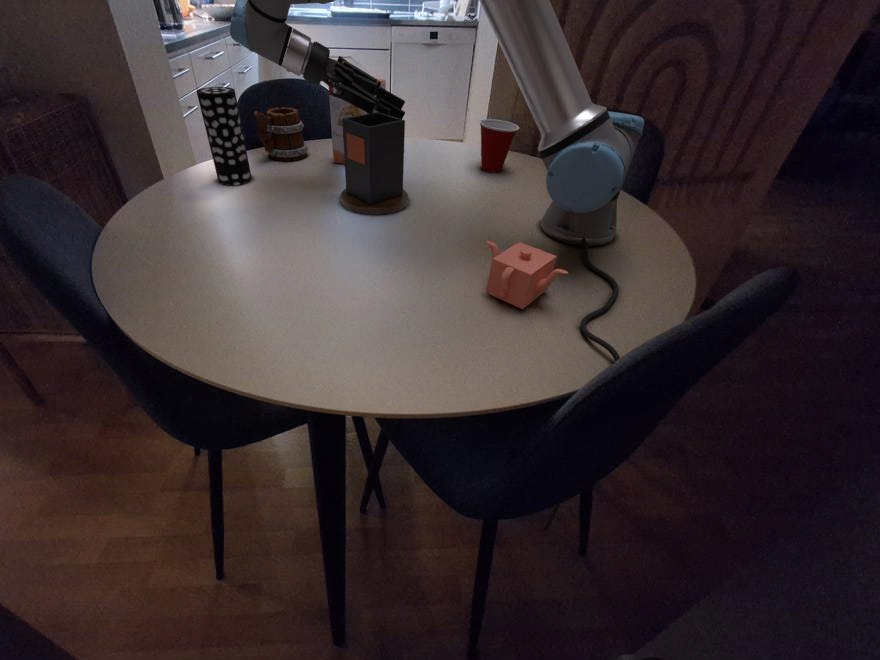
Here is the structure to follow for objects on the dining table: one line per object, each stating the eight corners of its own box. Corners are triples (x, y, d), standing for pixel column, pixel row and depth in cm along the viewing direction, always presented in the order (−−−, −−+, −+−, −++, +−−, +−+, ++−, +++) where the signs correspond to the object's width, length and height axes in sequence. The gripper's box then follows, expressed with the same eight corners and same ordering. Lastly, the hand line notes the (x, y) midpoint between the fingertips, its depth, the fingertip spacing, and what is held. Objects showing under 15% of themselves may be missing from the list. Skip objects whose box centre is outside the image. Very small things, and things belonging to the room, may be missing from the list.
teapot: (537, 327, 68) (551, 281, 63) (460, 290, 76) (467, 246, 70) (571, 297, 75) (586, 253, 69) (498, 266, 82) (506, 224, 77)
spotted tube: (253, 183, 111) (236, 93, 98) (219, 186, 109) (197, 94, 95) (249, 172, 117) (232, 86, 103) (217, 175, 114) (195, 87, 101)
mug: (319, 153, 130) (307, 98, 118) (283, 174, 123) (267, 117, 112) (293, 145, 135) (279, 92, 124) (257, 164, 128) (239, 109, 117)
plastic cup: (514, 176, 120) (523, 128, 112) (475, 175, 120) (482, 127, 112) (507, 163, 128) (516, 118, 120) (471, 162, 128) (477, 117, 120)
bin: (402, 194, 103) (405, 120, 93) (369, 205, 98) (368, 127, 88) (378, 184, 108) (377, 112, 98) (345, 193, 103) (341, 118, 92)
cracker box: (332, 163, 124) (326, 77, 110) (341, 157, 129) (336, 73, 115) (379, 169, 121) (378, 82, 108) (385, 163, 126) (386, 78, 112)
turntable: (410, 215, 99) (410, 208, 98) (339, 215, 98) (339, 208, 97) (405, 189, 111) (405, 182, 110) (342, 188, 110) (342, 182, 109)
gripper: (306, 57, 100) (394, 107, 110) (296, 95, 91) (394, 146, 101) (317, 23, 95) (409, 79, 104) (308, 60, 86) (410, 118, 95)
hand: (402, 112), depth 103 cm, fingers open, 4 cm apart
